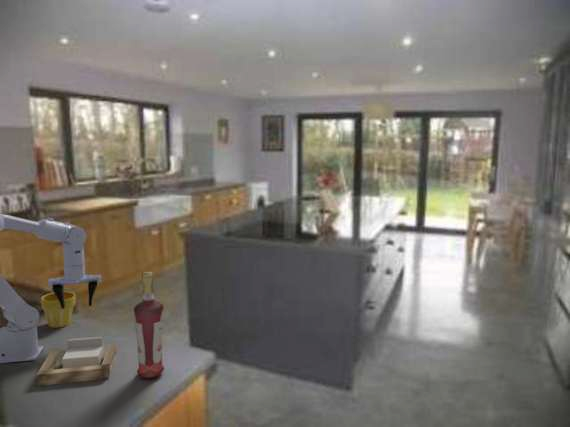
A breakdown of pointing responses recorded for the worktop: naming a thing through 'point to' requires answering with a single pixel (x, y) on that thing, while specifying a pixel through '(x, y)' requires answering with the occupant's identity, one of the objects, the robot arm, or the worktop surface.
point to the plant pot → (58, 309)
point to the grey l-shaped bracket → (83, 352)
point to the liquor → (149, 331)
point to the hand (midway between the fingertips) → (76, 306)
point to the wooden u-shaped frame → (74, 369)
